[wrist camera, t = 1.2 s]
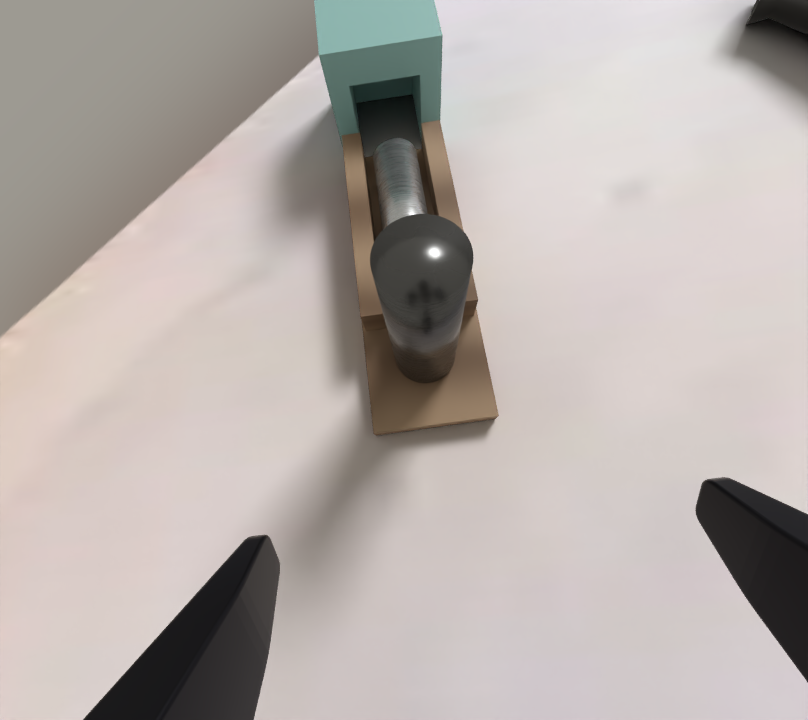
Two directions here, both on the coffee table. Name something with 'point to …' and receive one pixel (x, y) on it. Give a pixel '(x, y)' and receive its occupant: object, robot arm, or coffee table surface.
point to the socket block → (379, 55)
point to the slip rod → (417, 268)
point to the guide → (389, 389)
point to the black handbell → (782, 13)
